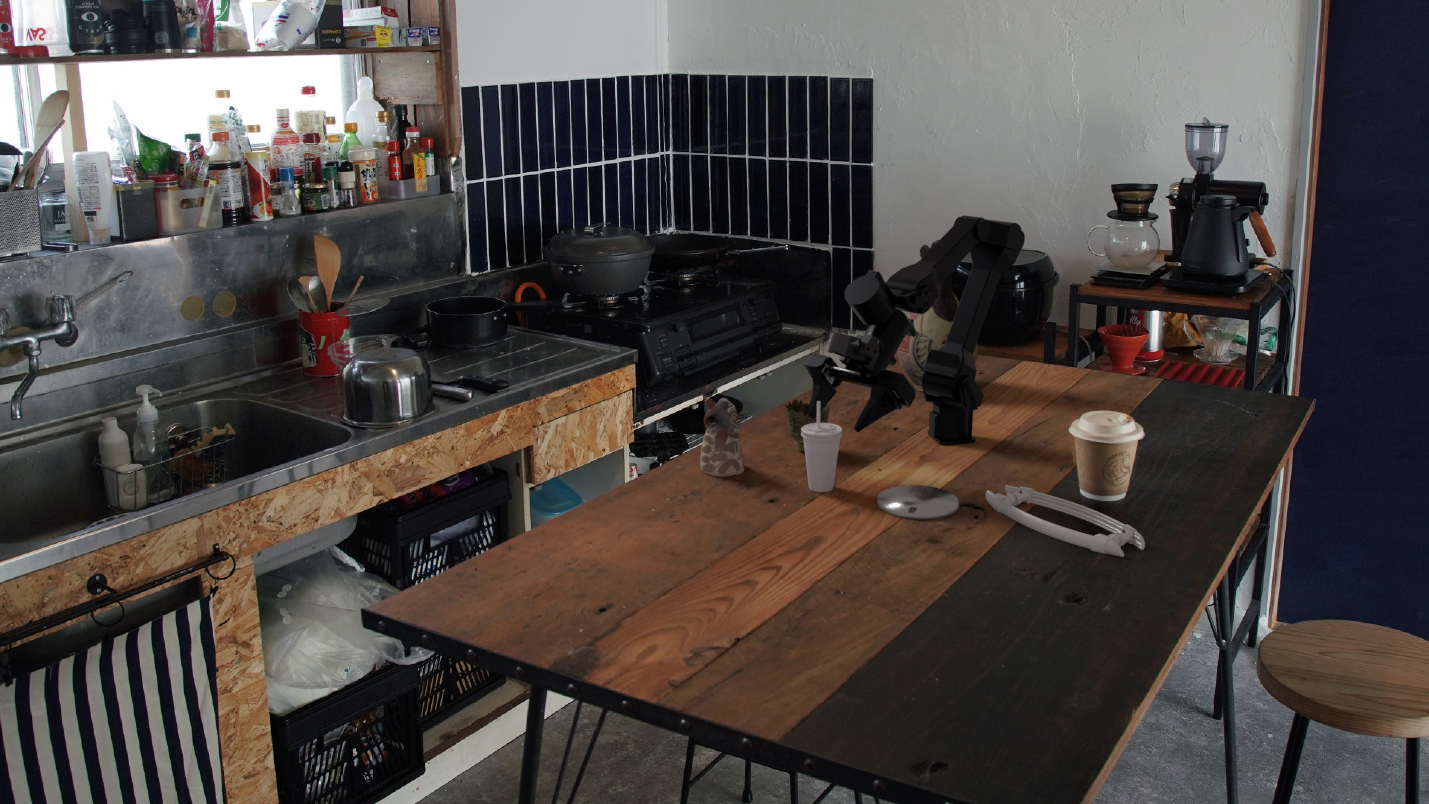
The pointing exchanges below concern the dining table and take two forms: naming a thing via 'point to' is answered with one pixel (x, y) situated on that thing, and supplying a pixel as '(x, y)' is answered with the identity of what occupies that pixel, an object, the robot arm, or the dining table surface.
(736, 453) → the figurine
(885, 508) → the pad
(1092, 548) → the door handle
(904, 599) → the dining table surface
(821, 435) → the smoothie
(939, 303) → the ceramic jug
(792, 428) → the cup
